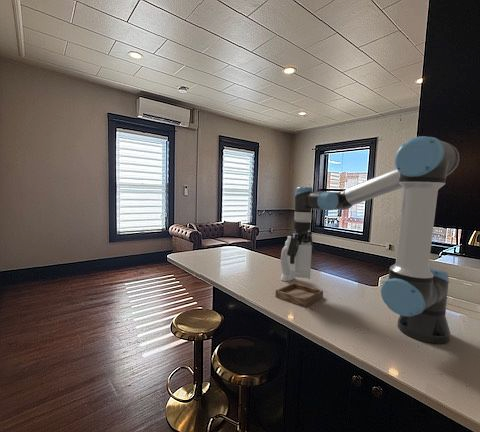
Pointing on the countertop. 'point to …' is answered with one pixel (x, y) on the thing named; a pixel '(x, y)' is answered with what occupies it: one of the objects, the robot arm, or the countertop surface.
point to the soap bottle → (286, 262)
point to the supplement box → (303, 261)
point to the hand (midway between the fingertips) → (300, 268)
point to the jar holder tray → (299, 294)
